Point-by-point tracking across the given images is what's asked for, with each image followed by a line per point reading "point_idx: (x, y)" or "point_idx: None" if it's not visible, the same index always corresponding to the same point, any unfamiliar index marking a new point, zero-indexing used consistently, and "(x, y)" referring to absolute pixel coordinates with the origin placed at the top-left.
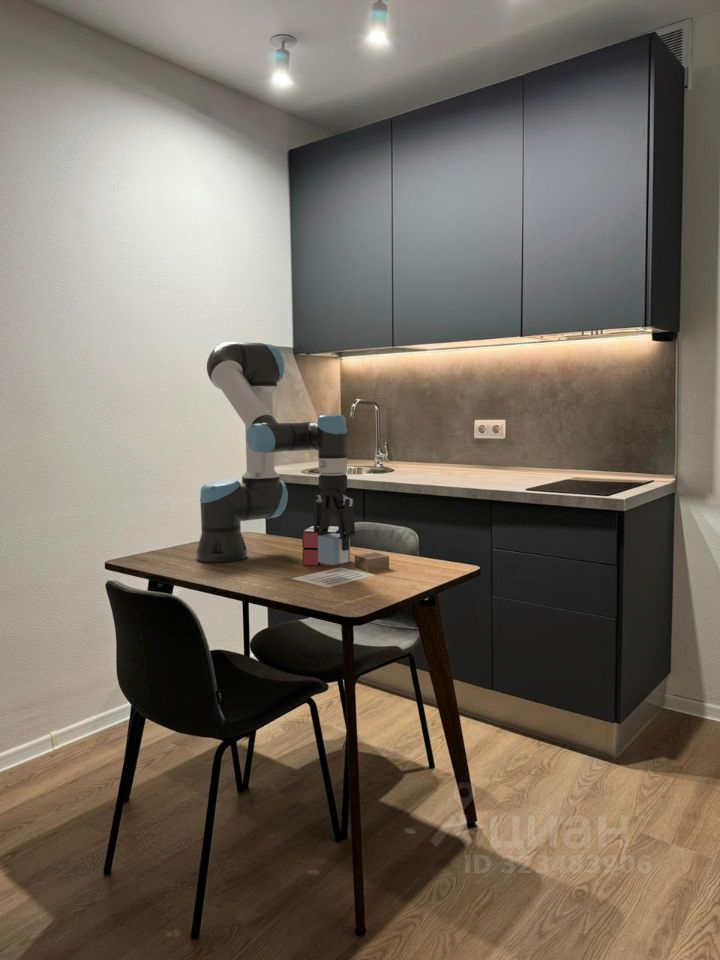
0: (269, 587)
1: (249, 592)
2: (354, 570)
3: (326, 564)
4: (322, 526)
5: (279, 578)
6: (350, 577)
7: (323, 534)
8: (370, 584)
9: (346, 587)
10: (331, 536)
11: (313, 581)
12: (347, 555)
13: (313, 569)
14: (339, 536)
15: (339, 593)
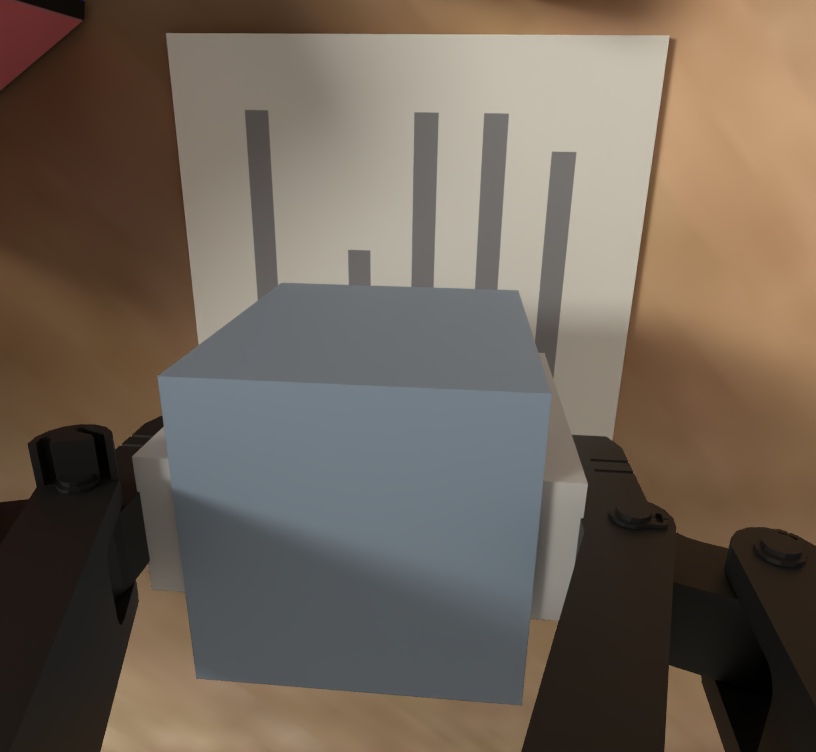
0: (294, 737)
1: None
2: (369, 42)
3: (14, 70)
4: (110, 700)
5: (147, 580)
6: (529, 279)
7: (142, 551)
8: (801, 326)
9: (687, 498)
10: (372, 610)
11: None
12: (551, 381)
13: (62, 245)
14: (468, 547)
15: None
